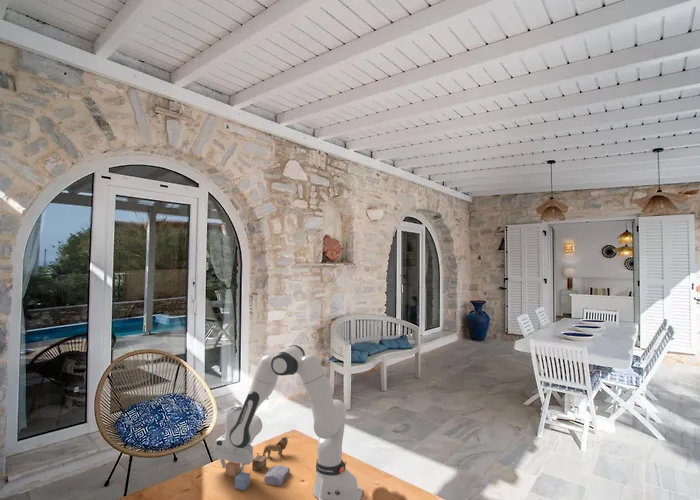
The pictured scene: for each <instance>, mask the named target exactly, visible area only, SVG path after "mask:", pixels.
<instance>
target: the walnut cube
mask: <svg viewBox="0 0 700 500" xmlns="http://www.w3.org/2000/svg"><path fill="white" fill-rule="evenodd" d="M251 464H252V466H251V467H252V468H251V469H252V471H258V472H263V470H264V469H265V468H267V456H263V455H259V454H257V455H255V457H253V461H252V462H251Z"/></svg>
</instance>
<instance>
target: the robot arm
mask: <svg viewBox="0 0 700 500" xmlns="http://www.w3.org/2000/svg"><path fill="white" fill-rule="evenodd" d="M305 353H306V352H305V350H304V349H303V347H301V346H299V345H297V344H292V345H289V346H287V347H285V348H282V349H281V350H280V351H279V352H277V353H276V354H275V355H274V354H265V355H263V356H262V357H261V359H260V360H259V363H258V365H257V366H256V370H255V371H254V376H253V379H252V381H251V384H250V388H249V391H248V393H247V395H246V398H245V401H244V403H243V405H242V406H234V407H232V408H229V409H228V410H227V411H226V414H225V418H224V420H225V421H224V431H225V432H224V434H222V435H220V436H219V437H218V438H216V439H215V441H214V446H213V453H212V454H213V455H212V456H213V457H214V459H218V460H219V462H220V463H221V467H222V469H226V464H227V463H228V462H229V461H232V462H237V463H240V468H239V471H240V472H244V470H245V466H246V465H248V466H249V465H250V464H252V462H253V459H254V446H253V445H251V444H250V442H252V441H253V439H255V438H256V436H257V435H258V434H260V433H261V431H262V429H263V423H262V422H263V421H262V419H261V418H260V417H259V416H258V415H256V412H257V410H258V408H259V407H260V406H261V405H262V404H263V402H264V401H266V400H267V398H269V397H270V396H271V395H272V393H273V391H274V389H275V387H276V384H277V382H278V379H279V376H280V377H281V376H292V375H293V376H294V375H295V374H298V376H300V380H301V382H302V385H303V386H304V389H305V391H306V394H307V396H308V399H309V403H310V407H311V412H312V418H313V430H314V434H315V435H316V437H318V442H317V459H316V462H315V463H316V464H315V472H316V474H315V475H316V476H315V481H314V485H313V489H312V494H313V495H314V496H315V498H316V499H318V500H361V499H362V497H361V496H363V489H362V486H361V485H358V480H357V478H356V476H355V474H352V473H351V471H349V470H348V469H347V468H346V465H347V460H345V461H344V460H343V459H342V457H343V455H342V454H343V439H344V432H345V427H346V426H345V423H346V416H347V407H346V404H345V403H344V401H342V400H340V399H334V398H333V389H332V386H331V384H330V382H329V379H328V377H327V374H326V372H325V370H324V367H323V366H322V364H321V363H320V361H319V359H318V358H317V356H316V355H314V354H305ZM226 461H228V462H227V463H226ZM240 472H239V473H240Z"/></svg>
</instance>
